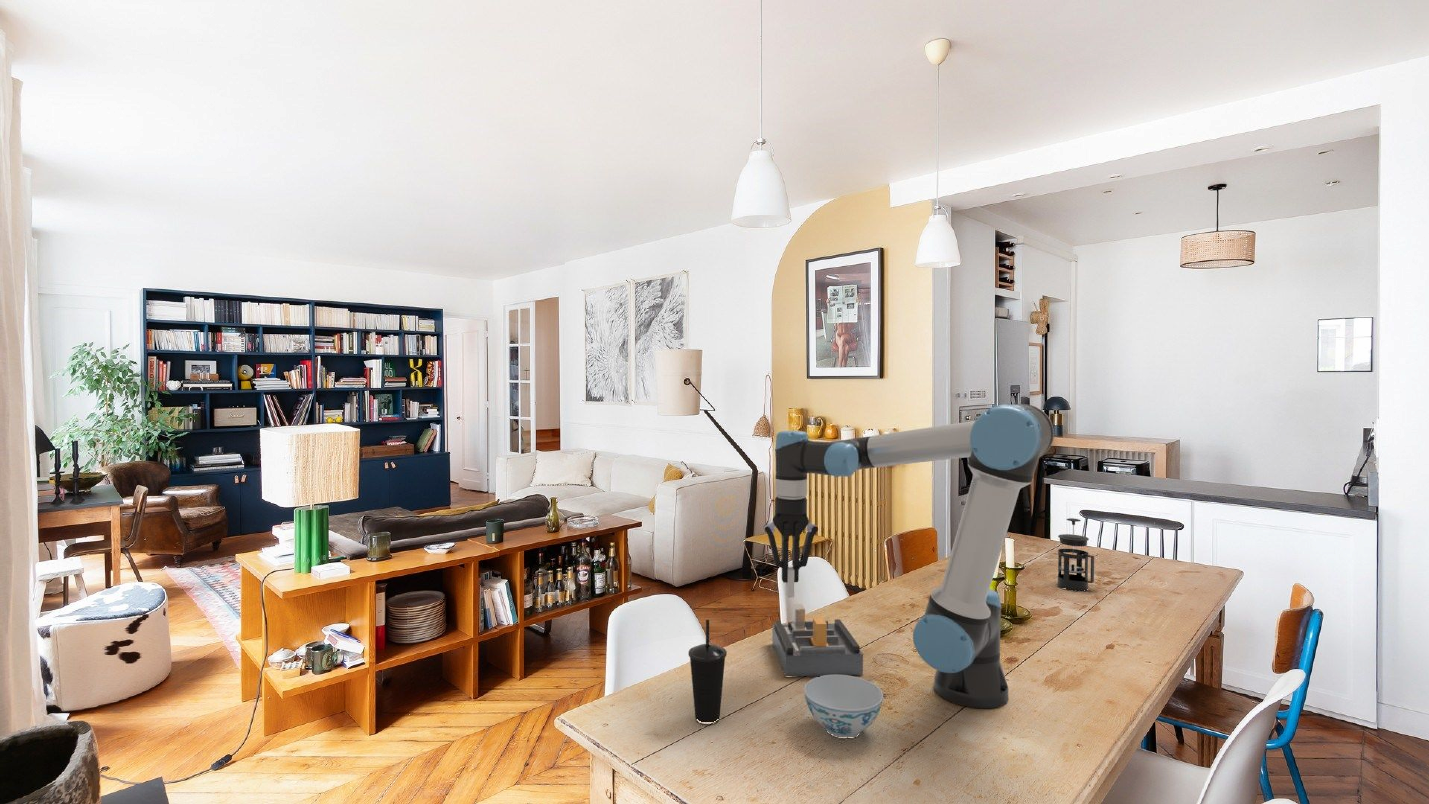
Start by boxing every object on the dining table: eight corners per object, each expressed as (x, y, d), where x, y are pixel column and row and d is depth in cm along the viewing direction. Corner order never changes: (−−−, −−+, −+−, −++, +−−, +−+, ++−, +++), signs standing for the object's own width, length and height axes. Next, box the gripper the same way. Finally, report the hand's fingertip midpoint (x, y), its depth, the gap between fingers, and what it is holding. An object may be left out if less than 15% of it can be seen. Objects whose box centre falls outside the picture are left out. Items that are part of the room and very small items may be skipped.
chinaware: (788, 730, 129) (788, 690, 129) (833, 704, 140) (833, 668, 139) (853, 761, 118) (854, 718, 118) (897, 730, 129) (897, 691, 129)
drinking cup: (693, 731, 128) (693, 628, 128) (684, 712, 136) (684, 615, 135) (731, 726, 130) (731, 625, 130) (720, 707, 138) (720, 612, 137)
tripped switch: (828, 649, 156) (828, 624, 155) (815, 649, 155) (815, 624, 155) (823, 641, 160) (824, 617, 160) (810, 641, 160) (811, 617, 160)
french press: (1049, 585, 223) (1050, 517, 223) (1063, 581, 229) (1064, 514, 228) (1085, 594, 214) (1086, 523, 213) (1099, 589, 219) (1100, 520, 219)
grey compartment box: (862, 675, 154) (863, 627, 153) (785, 677, 152) (785, 629, 152) (840, 642, 174) (840, 600, 173) (772, 643, 172) (772, 601, 172)
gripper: (814, 493, 161) (813, 590, 161) (761, 493, 160) (760, 591, 161) (821, 499, 153) (820, 600, 154) (765, 499, 152) (764, 601, 153)
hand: (789, 595), depth 157 cm, fingers closed
